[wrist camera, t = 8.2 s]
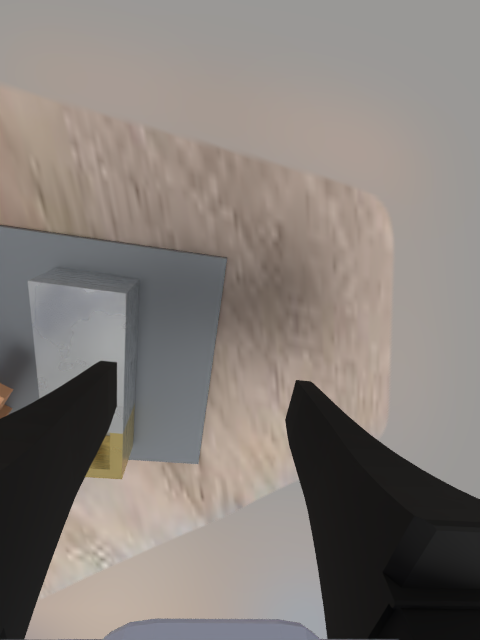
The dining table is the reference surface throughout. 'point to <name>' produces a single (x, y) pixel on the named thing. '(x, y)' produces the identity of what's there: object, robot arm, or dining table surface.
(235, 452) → the dining table surface
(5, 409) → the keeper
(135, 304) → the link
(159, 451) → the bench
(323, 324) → the dining table surface
